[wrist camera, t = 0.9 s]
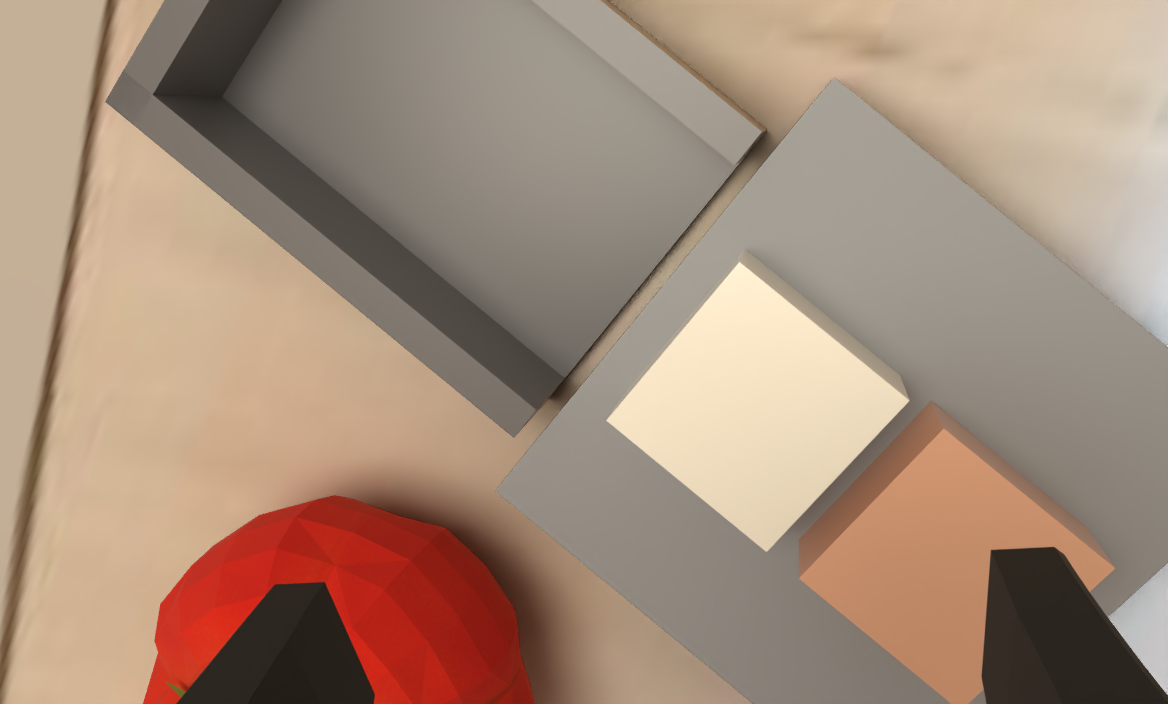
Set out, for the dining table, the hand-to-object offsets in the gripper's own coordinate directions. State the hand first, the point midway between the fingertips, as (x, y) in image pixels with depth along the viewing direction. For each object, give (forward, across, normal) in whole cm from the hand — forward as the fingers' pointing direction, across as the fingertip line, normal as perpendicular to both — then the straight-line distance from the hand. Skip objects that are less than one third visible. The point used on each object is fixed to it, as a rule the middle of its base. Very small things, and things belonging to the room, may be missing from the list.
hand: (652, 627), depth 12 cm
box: (+20, +6, +2) cm, 22 cm away
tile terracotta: (+12, -5, +12) cm, 18 cm away
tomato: (+15, +11, +16) cm, 25 cm away
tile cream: (+14, -1, +8) cm, 16 cm away
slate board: (+16, -4, +11) cm, 20 cm away
